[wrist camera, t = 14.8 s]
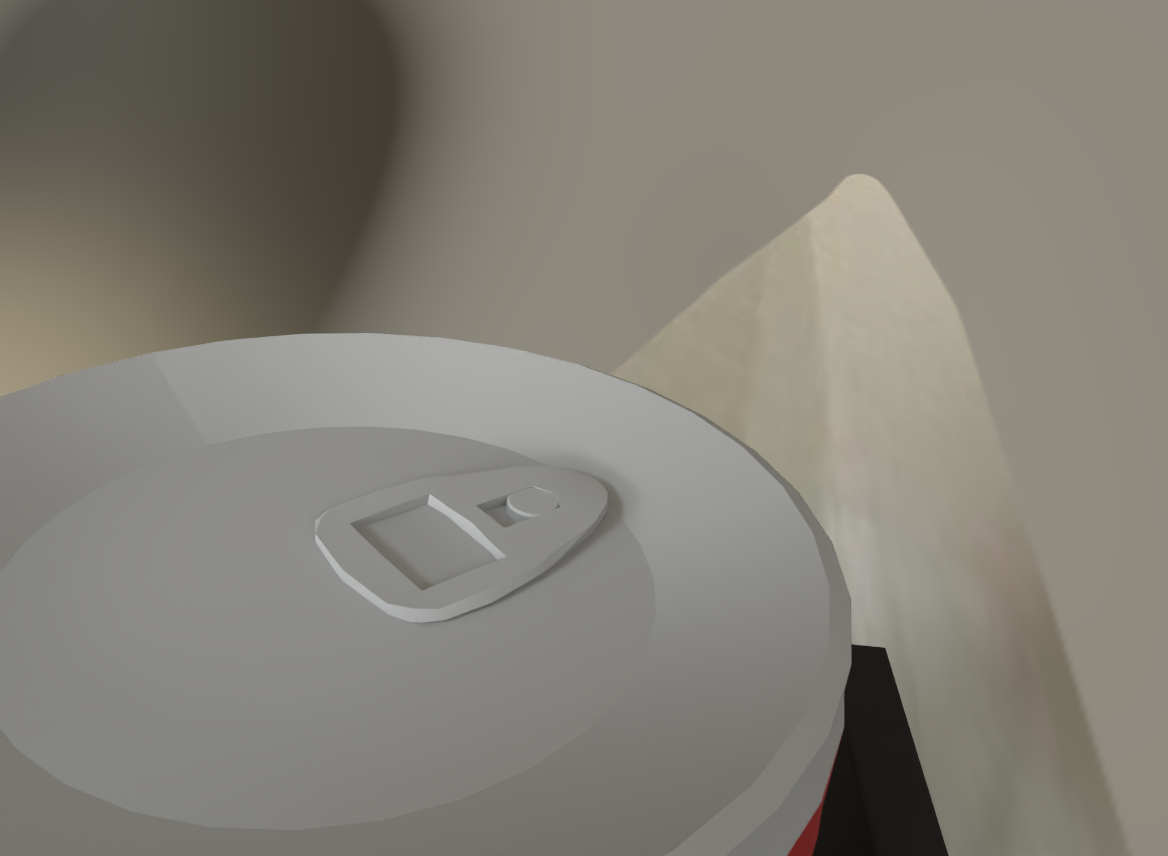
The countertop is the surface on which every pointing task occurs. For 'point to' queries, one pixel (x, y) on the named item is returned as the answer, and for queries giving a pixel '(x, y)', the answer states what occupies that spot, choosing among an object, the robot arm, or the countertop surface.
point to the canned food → (404, 612)
